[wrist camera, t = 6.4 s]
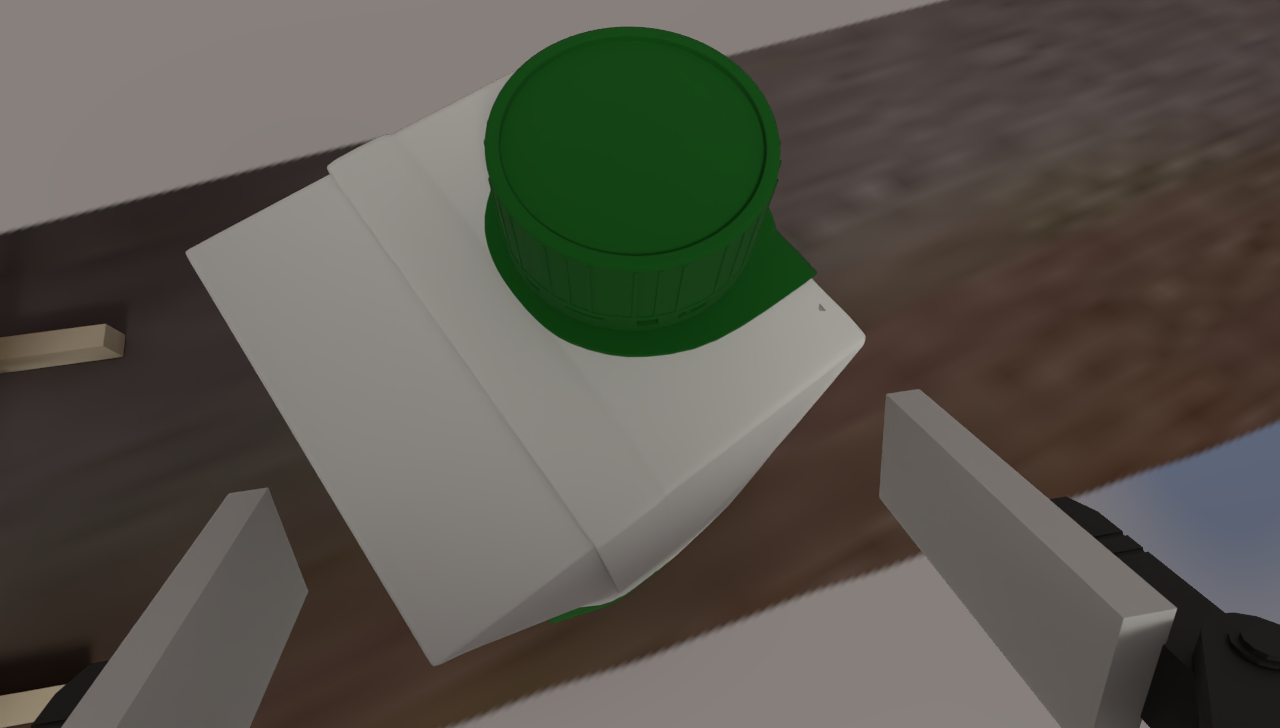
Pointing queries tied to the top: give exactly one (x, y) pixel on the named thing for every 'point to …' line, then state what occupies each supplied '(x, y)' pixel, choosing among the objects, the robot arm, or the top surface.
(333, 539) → the top surface
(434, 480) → the soya milk
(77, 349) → the trapdoor stand
